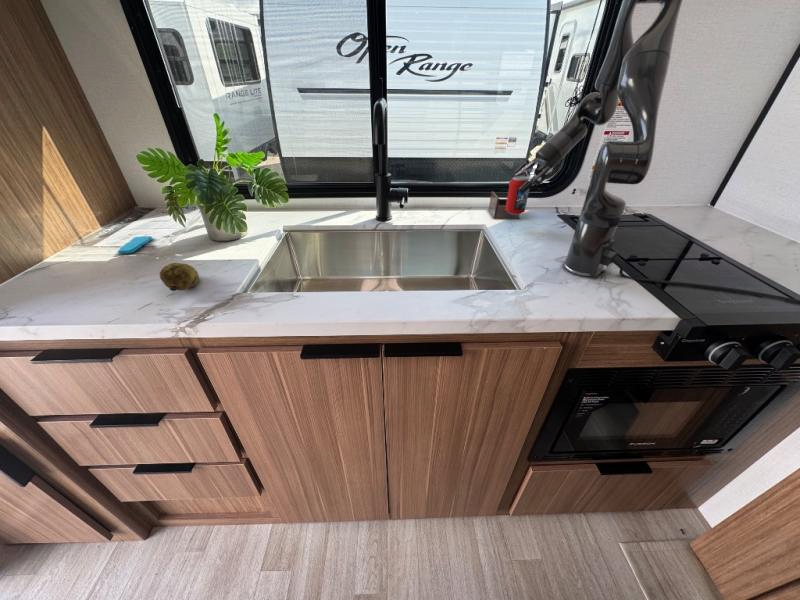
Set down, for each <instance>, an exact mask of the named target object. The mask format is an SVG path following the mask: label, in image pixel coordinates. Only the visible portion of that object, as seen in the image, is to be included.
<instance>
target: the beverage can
mask: <svg viewBox="0 0 800 600" xmlns="http://www.w3.org/2000/svg"><path fill="white" fill-rule="evenodd" d="M529 178H530V176H528V177H526V176H522V175H521V176H516V175H513V176H512V178H511V180H510V181H509V182H510V185H508V191H507V198H506V199H507V202H506V208H505V210H506V211H507V212H508V213H510V214H515V215H518V214H520V215H521V214H524V213H525V211H526V207H527V203H528V199H529V194H530V189H531V187H530V188H529V189H528V190H527V191H526V192H524V193H523V194H522V193H521V192H520V191H519V188H520V187H521V186H522V185H523V184H524V183H525V182H526V181H528V180H529Z"/></svg>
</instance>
